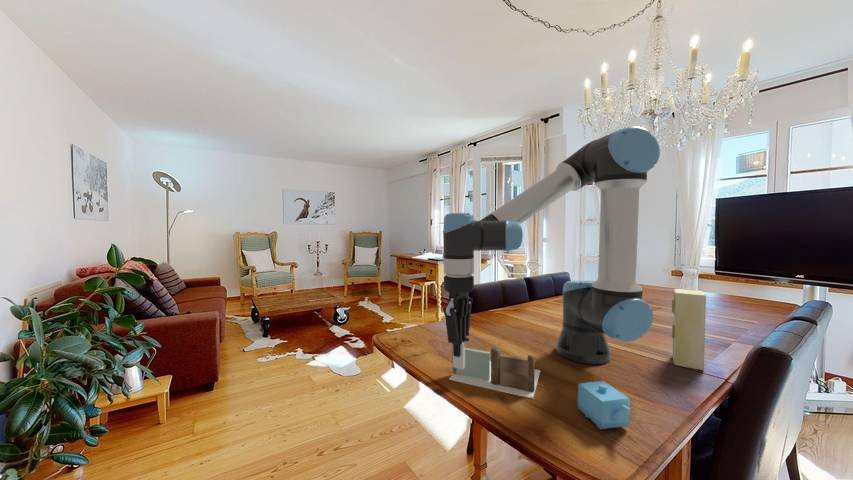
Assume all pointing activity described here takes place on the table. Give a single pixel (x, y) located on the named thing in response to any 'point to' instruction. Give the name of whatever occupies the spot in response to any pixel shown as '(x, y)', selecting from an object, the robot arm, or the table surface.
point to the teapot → (603, 404)
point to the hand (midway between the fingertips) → (459, 367)
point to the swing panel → (474, 364)
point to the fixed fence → (512, 370)
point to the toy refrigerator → (689, 328)
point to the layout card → (496, 387)
